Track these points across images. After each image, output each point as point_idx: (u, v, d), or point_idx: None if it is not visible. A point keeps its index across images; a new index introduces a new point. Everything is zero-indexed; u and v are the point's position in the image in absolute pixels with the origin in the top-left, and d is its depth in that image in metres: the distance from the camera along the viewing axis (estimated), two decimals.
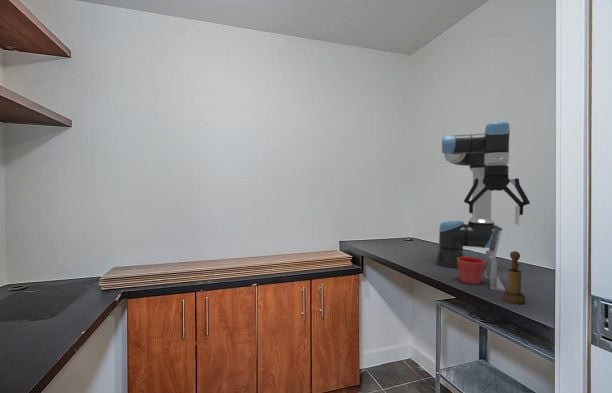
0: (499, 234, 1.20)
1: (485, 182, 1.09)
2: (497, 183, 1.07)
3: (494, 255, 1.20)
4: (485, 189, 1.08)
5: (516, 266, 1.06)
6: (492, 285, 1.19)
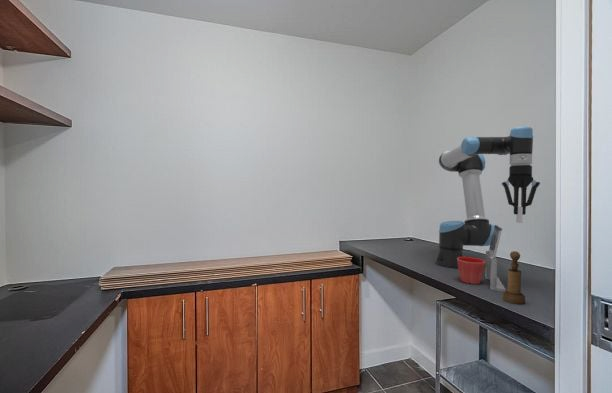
0: (499, 234, 1.20)
1: (512, 180, 1.22)
2: (522, 179, 1.20)
3: (494, 255, 1.20)
4: (517, 188, 1.21)
5: (516, 266, 1.06)
6: (492, 285, 1.19)
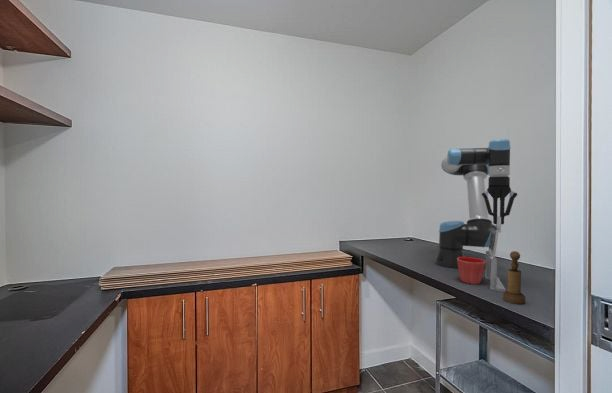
0: (497, 234, 1.20)
1: (491, 191, 1.25)
2: (500, 190, 1.24)
3: (494, 255, 1.21)
4: (495, 199, 1.24)
5: (516, 266, 1.06)
6: (492, 285, 1.19)
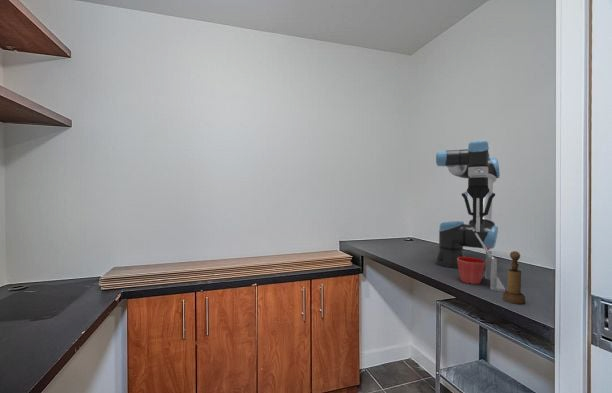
0: (477, 236, 1.23)
1: (470, 191, 1.28)
2: (479, 191, 1.27)
3: (490, 255, 1.21)
4: (474, 199, 1.27)
5: (516, 266, 1.06)
6: (492, 285, 1.19)
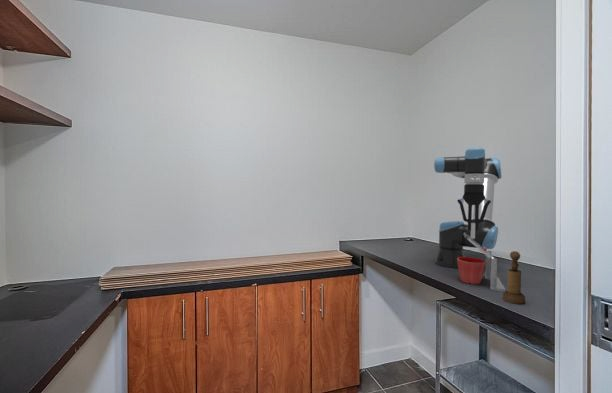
0: (470, 241, 1.24)
1: (466, 198, 1.29)
2: (475, 197, 1.28)
3: (488, 256, 1.21)
4: (470, 206, 1.28)
5: (516, 266, 1.06)
6: (492, 285, 1.19)
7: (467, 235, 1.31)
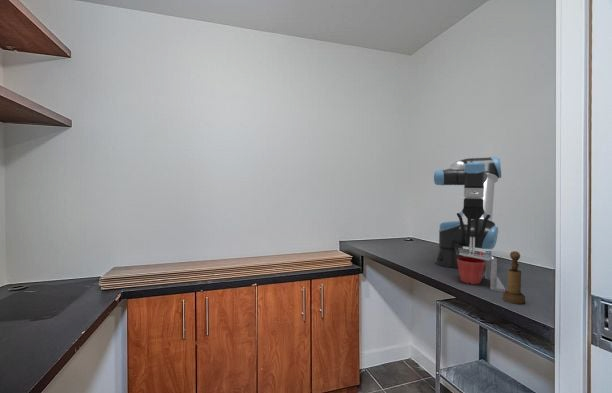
0: (463, 254, 1.25)
1: (465, 212, 1.29)
2: (474, 212, 1.28)
3: (487, 259, 1.22)
4: (469, 220, 1.28)
5: (516, 266, 1.06)
6: (492, 285, 1.19)
7: (459, 249, 1.33)
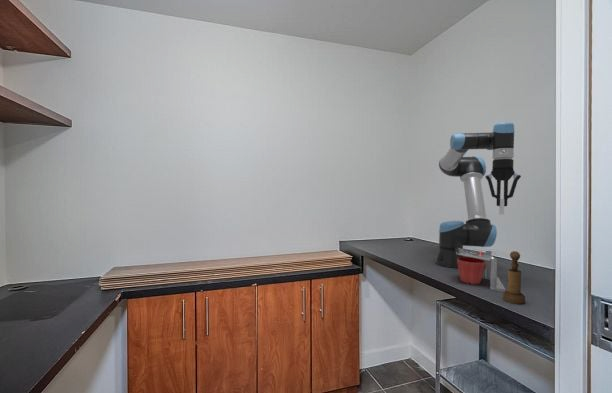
0: (463, 254, 1.25)
1: (494, 174, 1.28)
2: (504, 173, 1.26)
3: (487, 259, 1.22)
4: (499, 181, 1.27)
5: (516, 266, 1.06)
6: (492, 285, 1.19)
7: (459, 249, 1.33)
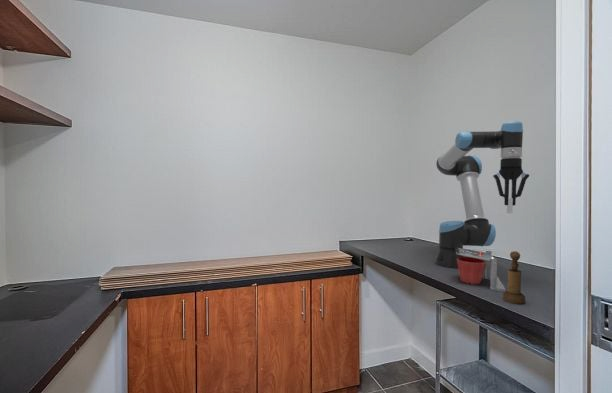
0: (463, 254, 1.25)
1: (503, 173, 1.27)
2: (512, 172, 1.26)
3: (487, 259, 1.22)
4: (507, 180, 1.26)
5: (516, 266, 1.06)
6: (492, 285, 1.19)
7: (459, 249, 1.33)
